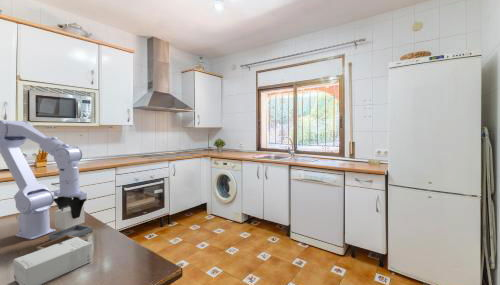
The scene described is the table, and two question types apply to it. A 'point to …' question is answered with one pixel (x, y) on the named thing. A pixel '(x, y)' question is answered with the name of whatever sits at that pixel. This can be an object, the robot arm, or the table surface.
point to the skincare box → (51, 261)
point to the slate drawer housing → (71, 232)
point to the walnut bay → (56, 242)
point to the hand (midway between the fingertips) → (70, 216)
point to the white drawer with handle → (67, 218)
